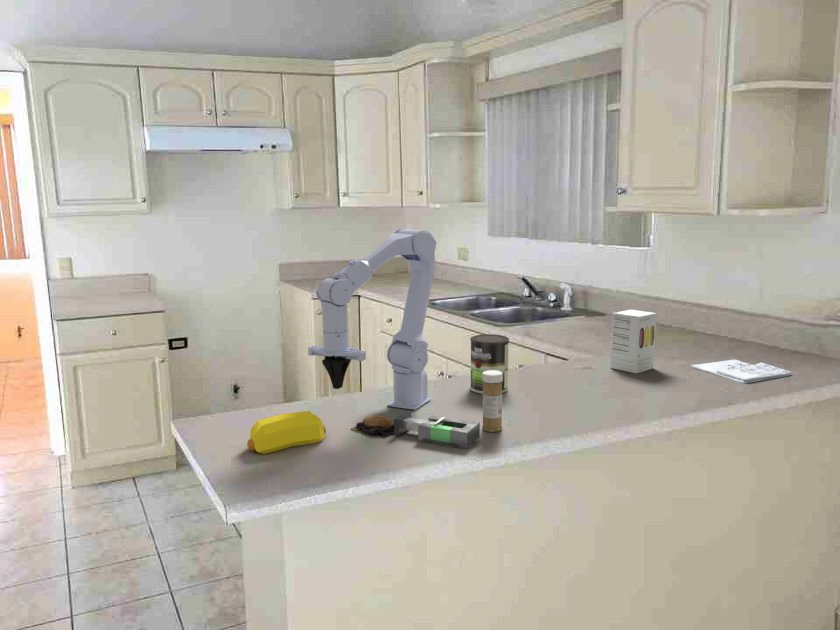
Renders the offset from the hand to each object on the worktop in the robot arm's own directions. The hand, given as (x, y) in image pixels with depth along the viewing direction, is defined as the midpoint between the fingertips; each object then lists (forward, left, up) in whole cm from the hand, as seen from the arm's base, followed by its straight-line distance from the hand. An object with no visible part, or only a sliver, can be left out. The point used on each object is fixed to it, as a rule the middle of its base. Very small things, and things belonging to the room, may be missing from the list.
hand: (337, 387), depth 170 cm
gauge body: (0, +28, -8) cm, 30 cm away
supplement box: (-77, +54, -9) cm, 94 cm away
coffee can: (-40, +23, -9) cm, 47 cm away
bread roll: (+1, +11, -9) cm, 14 cm away
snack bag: (-86, +83, -9) cm, 120 cm away
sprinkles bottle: (-10, +35, -9) cm, 37 cm away
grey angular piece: (0, +21, -8) cm, 23 cm away
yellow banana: (+17, -2, -9) cm, 19 cm away
